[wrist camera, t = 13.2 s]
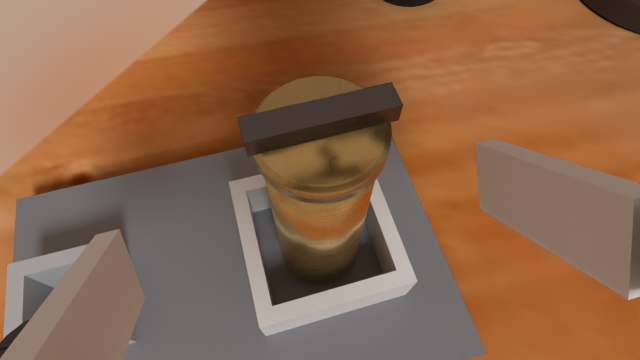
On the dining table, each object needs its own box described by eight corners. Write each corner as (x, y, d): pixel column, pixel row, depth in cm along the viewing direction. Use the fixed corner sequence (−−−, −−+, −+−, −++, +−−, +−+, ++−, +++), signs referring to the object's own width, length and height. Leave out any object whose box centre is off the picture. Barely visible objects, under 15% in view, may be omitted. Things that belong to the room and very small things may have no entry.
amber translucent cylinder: (348, 200, 26) (372, 42, 15) (374, 273, 24) (426, 153, 12) (266, 222, 25) (225, 73, 14) (286, 299, 23) (257, 197, 12)
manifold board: (378, 131, 31) (389, 86, 26) (473, 356, 24) (510, 346, 19) (35, 212, 27) (-18, 176, 23) (27, 502, 20) (-53, 532, 16)
